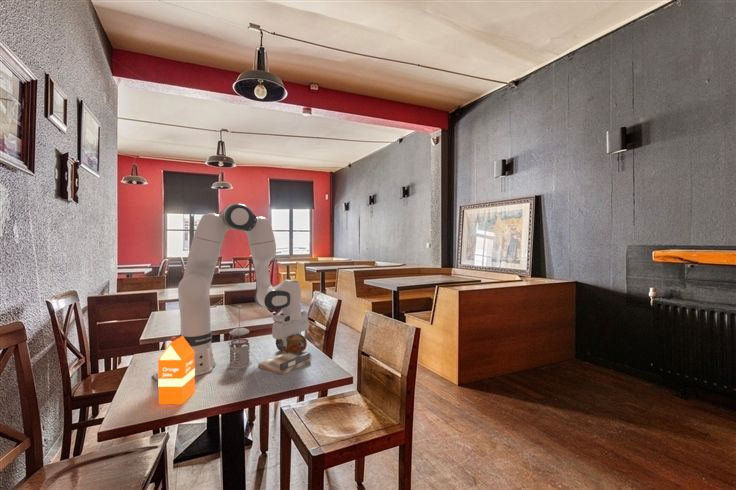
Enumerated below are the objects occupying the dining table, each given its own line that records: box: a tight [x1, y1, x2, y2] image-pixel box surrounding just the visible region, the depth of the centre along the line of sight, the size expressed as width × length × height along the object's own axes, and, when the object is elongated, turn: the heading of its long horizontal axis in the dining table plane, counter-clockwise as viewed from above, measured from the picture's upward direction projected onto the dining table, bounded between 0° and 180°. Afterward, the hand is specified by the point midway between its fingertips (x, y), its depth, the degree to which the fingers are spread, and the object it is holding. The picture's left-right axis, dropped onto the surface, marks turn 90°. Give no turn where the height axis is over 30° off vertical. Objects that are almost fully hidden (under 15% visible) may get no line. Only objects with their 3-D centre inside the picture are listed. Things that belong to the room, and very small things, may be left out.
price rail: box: [280, 352, 311, 371], centre depth 145 cm, size 16×1×2 cm, turn 147°
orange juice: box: [157, 336, 196, 405], centre depth 118 cm, size 8×9×20 cm
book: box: [257, 352, 311, 375], centre depth 148 cm, size 16×14×2 cm
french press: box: [227, 304, 253, 370], centre depth 148 cm, size 10×12×25 cm
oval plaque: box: [275, 334, 308, 354], centre depth 164 cm, size 15×3×8 cm, turn 73°
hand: (291, 343), depth 164 cm, fingers open, 5 cm apart
